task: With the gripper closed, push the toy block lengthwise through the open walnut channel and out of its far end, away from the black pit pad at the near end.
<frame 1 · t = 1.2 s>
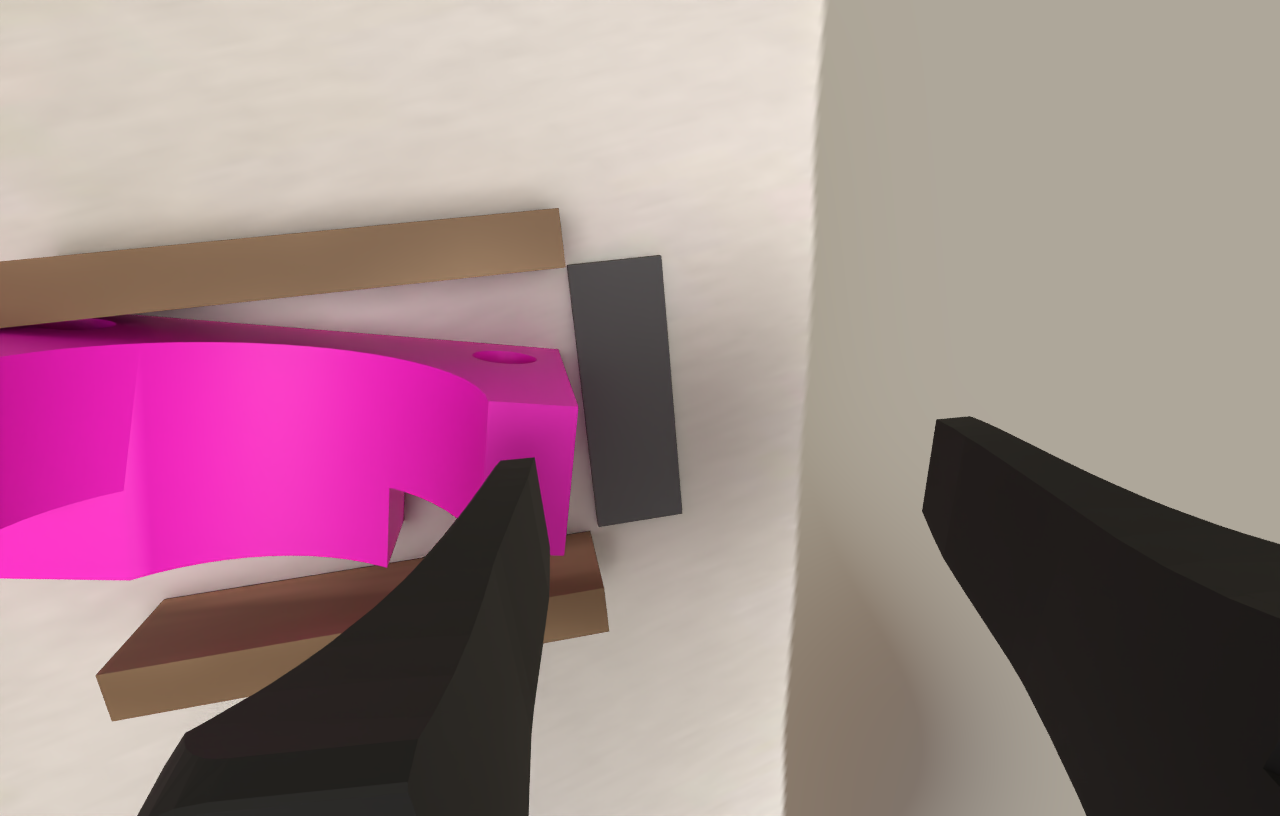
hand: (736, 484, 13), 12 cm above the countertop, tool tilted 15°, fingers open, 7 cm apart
channel: (357, 431, 23), on the countertop
pit pad: (627, 395, 24), on the countertop
toy block: (316, 423, 23), on the countertop
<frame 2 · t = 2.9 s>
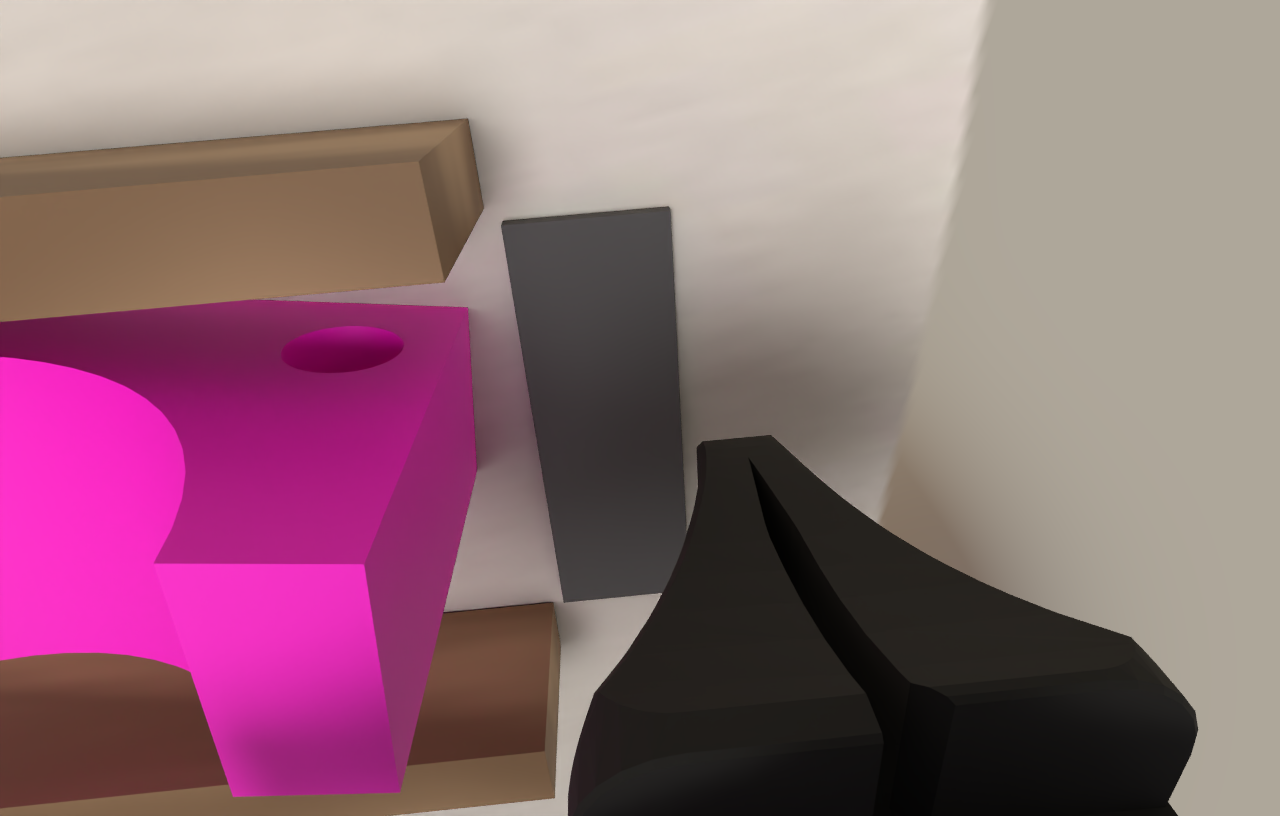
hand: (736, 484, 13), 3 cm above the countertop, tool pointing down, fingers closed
channel: (187, 467, 15), on the countertop
pit pad: (608, 427, 15), on the countertop
toy block: (111, 429, 15), on the countertop
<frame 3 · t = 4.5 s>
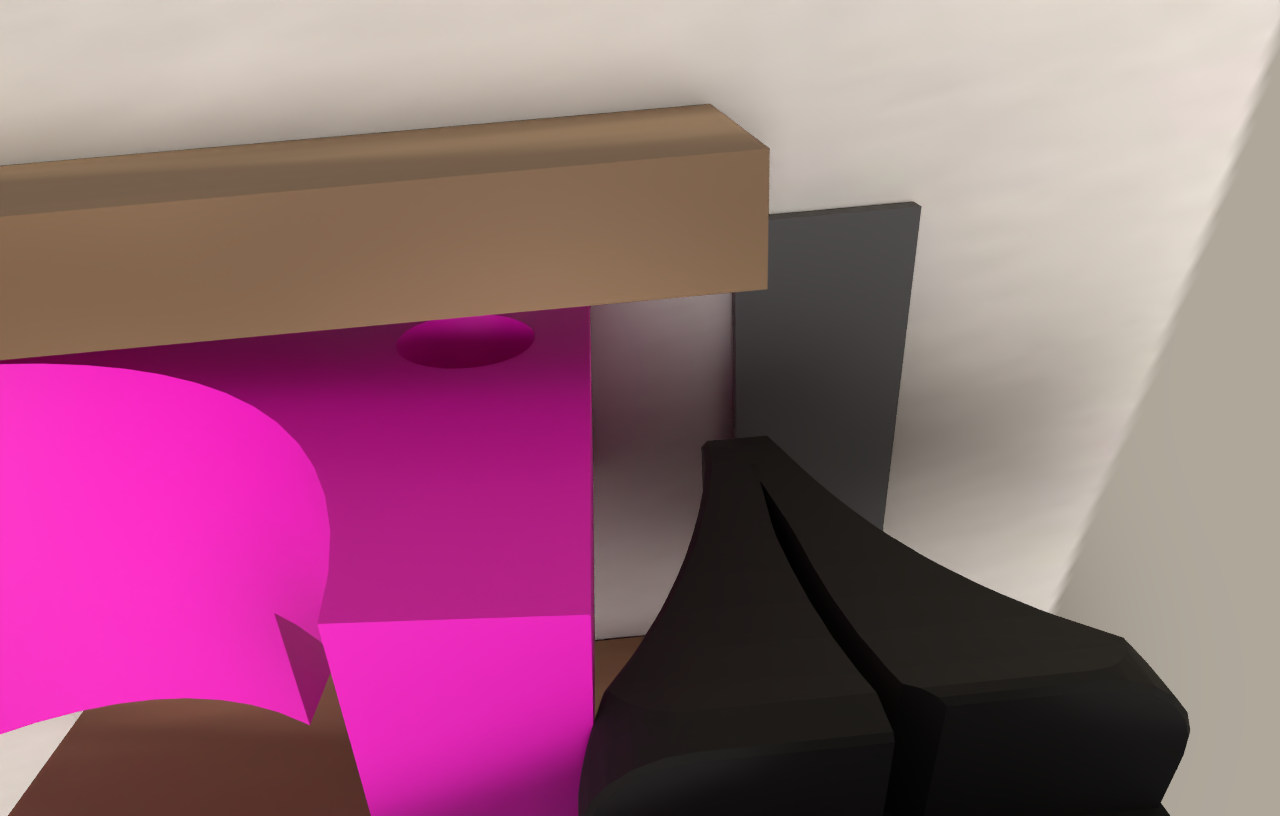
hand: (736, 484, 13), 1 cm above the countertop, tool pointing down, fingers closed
channel: (355, 487, 14), on the countertop
pit pad: (810, 443, 14), on the countertop
toy block: (186, 444, 13), on the countertop, touching gripper
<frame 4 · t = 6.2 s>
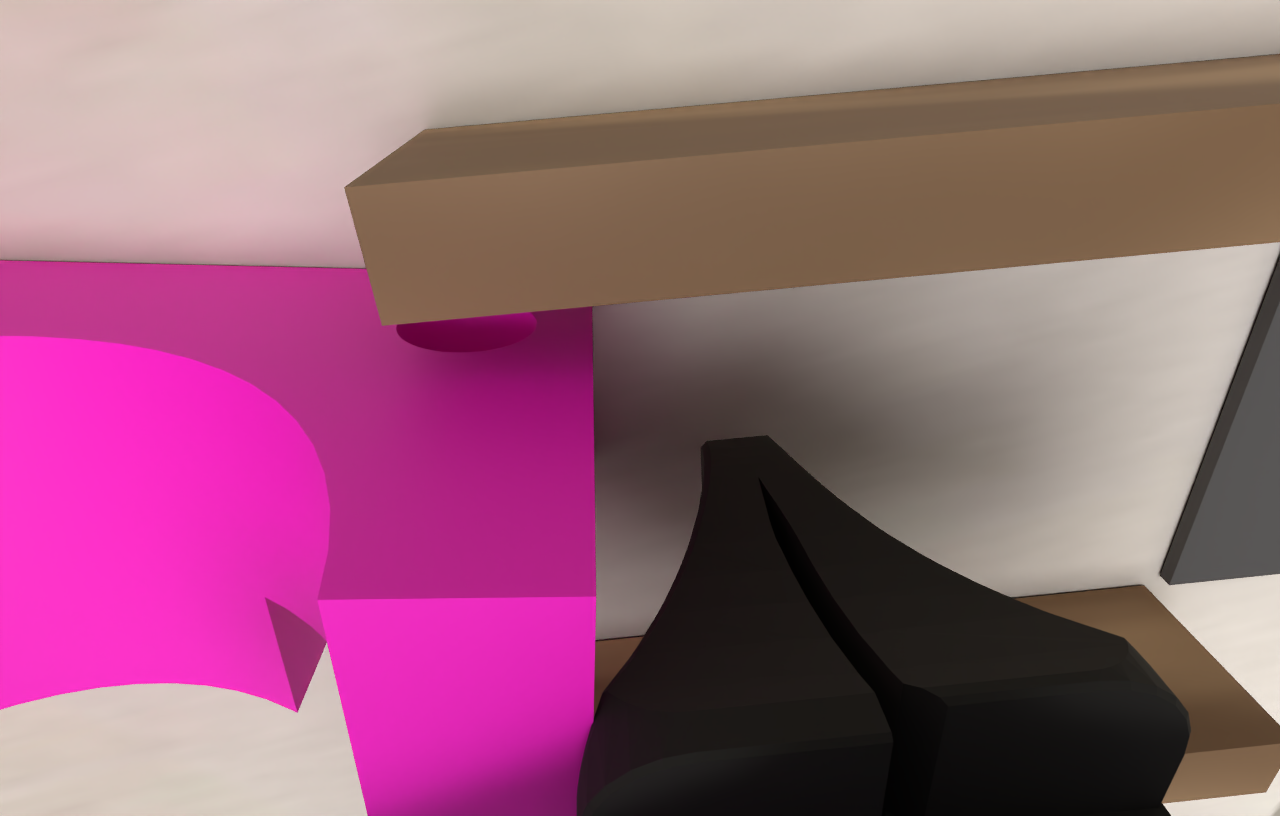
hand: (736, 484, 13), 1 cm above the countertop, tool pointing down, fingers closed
channel: (856, 439, 14), on the countertop
toy block: (177, 426, 13), on the countertop, touching gripper
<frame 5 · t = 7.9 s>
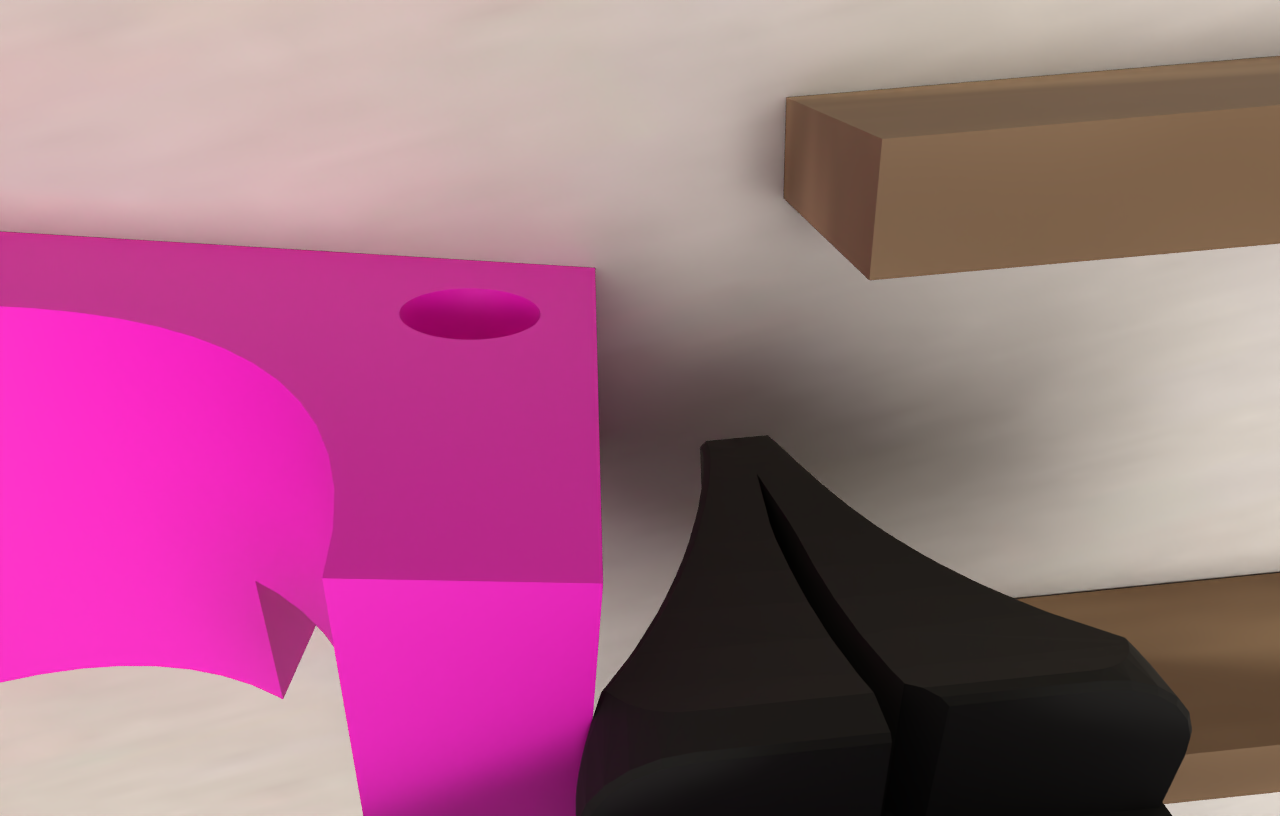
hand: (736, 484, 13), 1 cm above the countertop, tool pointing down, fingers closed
channel: (1131, 413, 14), on the countertop
toy block: (169, 406, 13), on the countertop, touching gripper
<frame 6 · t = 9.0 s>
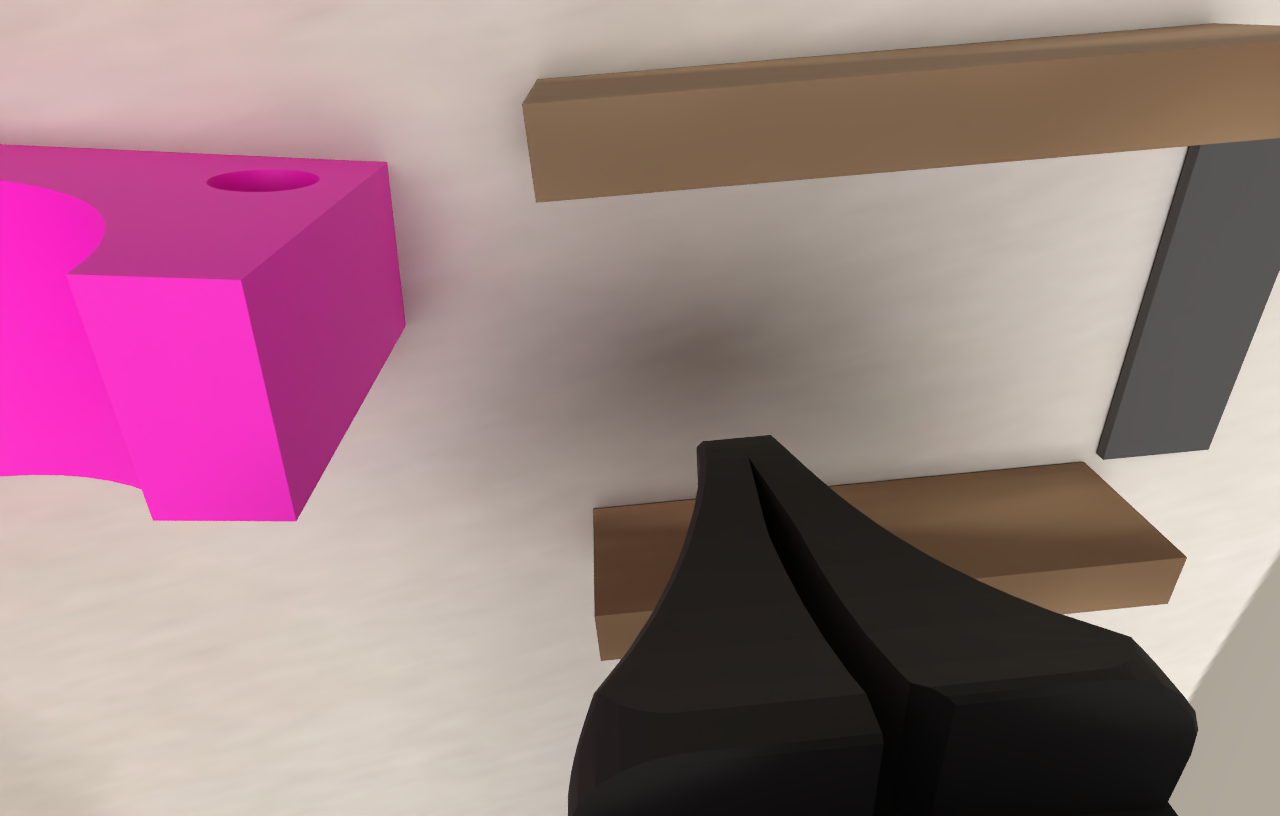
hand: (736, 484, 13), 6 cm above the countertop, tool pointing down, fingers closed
channel: (854, 331, 18), on the countertop
pit pad: (1200, 299, 18), on the countertop
toy block: (71, 284, 16), on the countertop
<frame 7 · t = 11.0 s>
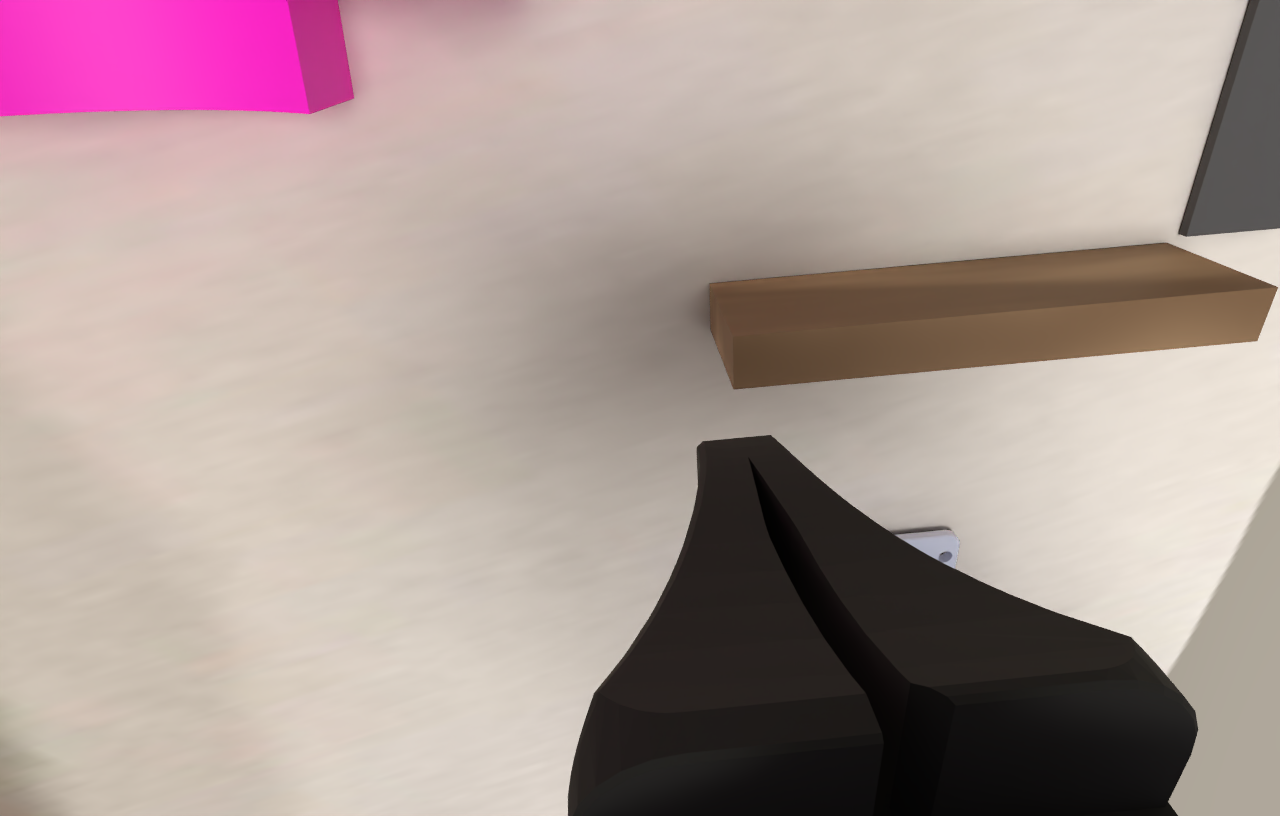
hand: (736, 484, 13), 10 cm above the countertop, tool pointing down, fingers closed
channel: (963, 92, 19), on the countertop
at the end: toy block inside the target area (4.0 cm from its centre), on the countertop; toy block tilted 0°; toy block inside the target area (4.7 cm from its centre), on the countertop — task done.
